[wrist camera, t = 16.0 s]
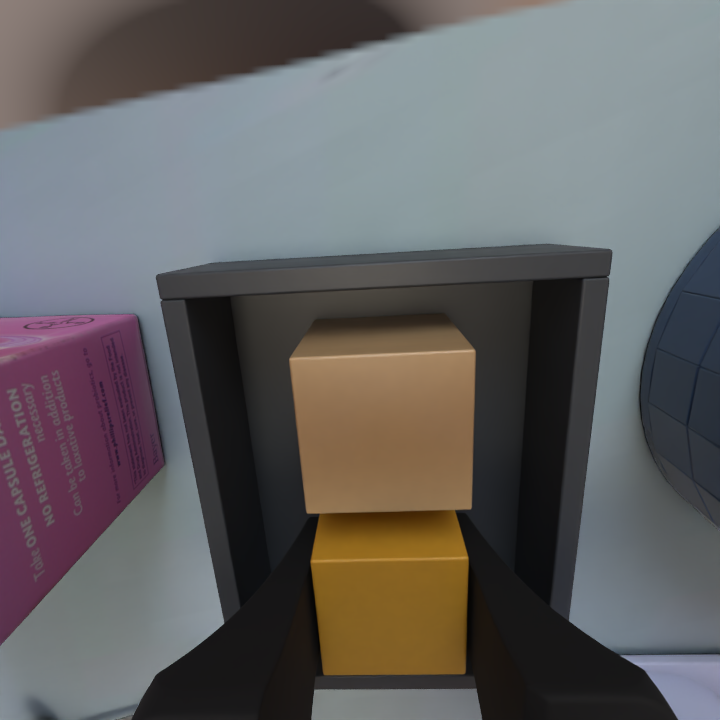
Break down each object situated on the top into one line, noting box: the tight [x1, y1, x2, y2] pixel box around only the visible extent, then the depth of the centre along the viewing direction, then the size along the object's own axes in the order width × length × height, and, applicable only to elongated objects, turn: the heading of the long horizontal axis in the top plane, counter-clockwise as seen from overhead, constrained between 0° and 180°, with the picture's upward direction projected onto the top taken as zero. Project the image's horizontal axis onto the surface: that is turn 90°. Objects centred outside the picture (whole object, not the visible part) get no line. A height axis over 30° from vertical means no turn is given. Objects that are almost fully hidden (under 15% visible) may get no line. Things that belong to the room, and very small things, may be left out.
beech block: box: [289, 313, 476, 514], centre depth 11 cm, size 4×4×4 cm
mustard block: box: [310, 510, 469, 675], centre depth 13 cm, size 4×4×4 cm
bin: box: [156, 244, 612, 689], centre depth 13 cm, size 13×10×4 cm
